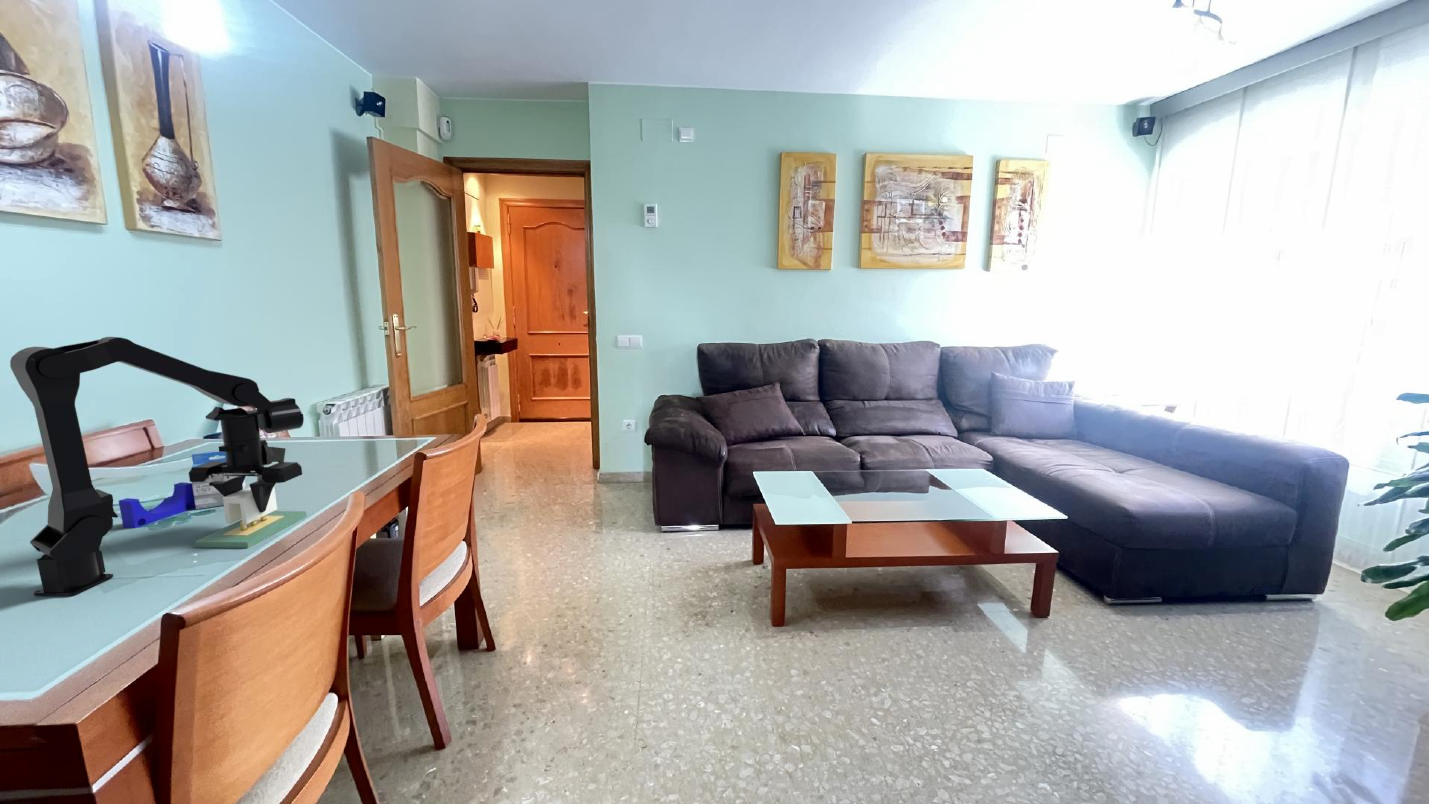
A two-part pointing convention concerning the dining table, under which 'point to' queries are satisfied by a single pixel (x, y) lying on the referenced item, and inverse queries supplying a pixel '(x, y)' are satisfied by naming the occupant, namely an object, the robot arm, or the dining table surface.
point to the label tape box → (207, 483)
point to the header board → (250, 530)
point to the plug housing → (246, 506)
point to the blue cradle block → (168, 507)
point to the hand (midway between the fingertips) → (252, 511)
